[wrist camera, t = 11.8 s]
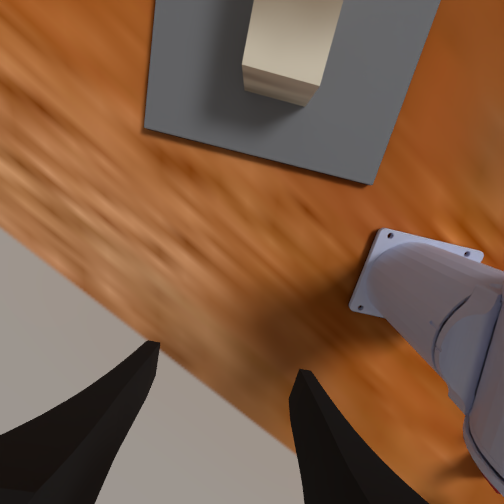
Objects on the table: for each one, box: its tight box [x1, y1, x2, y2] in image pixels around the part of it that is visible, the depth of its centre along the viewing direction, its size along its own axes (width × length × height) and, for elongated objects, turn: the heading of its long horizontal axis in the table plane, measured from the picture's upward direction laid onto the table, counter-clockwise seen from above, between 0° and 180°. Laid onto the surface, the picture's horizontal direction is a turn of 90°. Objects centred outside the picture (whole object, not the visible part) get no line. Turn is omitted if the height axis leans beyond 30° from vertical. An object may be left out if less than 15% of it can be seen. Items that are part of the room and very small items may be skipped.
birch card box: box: [242, 0, 343, 107], centre depth 14 cm, size 8×4×4 cm, turn 167°
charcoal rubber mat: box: [144, 0, 440, 185], centre depth 16 cm, size 18×16×1 cm
